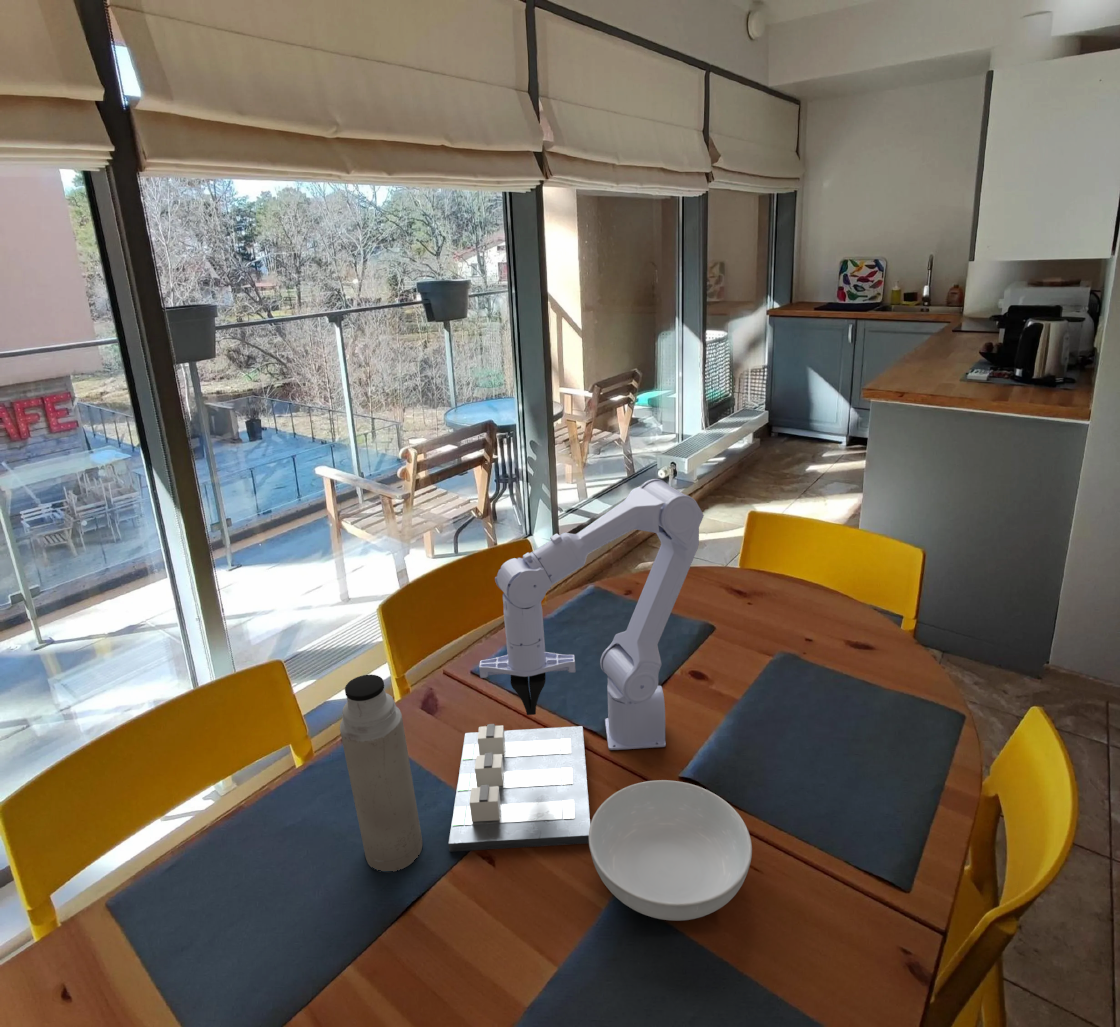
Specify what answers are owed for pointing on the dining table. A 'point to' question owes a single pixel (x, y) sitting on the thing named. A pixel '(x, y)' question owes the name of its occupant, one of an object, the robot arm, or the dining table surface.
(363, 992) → the dining table surface
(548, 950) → the dining table surface
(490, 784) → the block
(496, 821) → the panel
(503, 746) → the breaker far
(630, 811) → the serving bowl
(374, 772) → the thermos bottle
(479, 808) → the block
